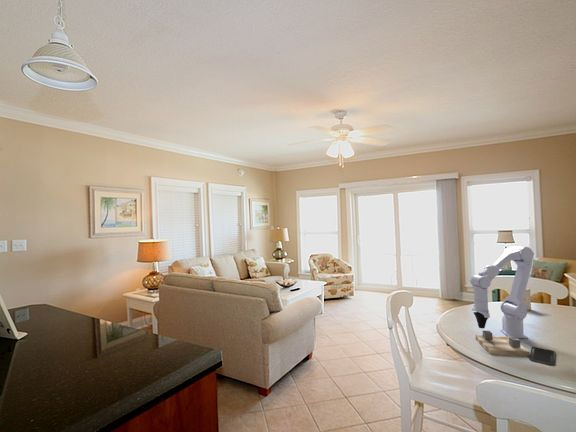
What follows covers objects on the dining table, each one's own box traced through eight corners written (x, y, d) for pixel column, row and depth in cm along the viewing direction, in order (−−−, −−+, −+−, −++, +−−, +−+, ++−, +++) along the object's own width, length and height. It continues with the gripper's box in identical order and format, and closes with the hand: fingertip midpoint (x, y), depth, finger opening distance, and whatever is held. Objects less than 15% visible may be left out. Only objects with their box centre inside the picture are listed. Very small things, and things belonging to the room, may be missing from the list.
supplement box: (531, 309, 188) (530, 288, 188) (527, 310, 186) (527, 289, 186) (516, 306, 195) (515, 285, 195) (512, 307, 193) (511, 287, 193)
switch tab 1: (482, 336, 143) (482, 330, 143) (489, 337, 143) (489, 330, 143) (485, 339, 140) (485, 332, 140) (492, 339, 140) (492, 333, 140)
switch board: (475, 339, 147) (475, 335, 147) (511, 341, 143) (510, 336, 143) (489, 353, 131) (489, 349, 131) (529, 356, 128) (529, 351, 128)
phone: (528, 358, 125) (532, 346, 136) (529, 361, 125) (532, 348, 136) (554, 364, 119) (555, 351, 130) (554, 367, 119) (555, 353, 130)
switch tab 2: (509, 344, 135) (508, 337, 135) (516, 344, 134) (516, 337, 134) (512, 346, 132) (512, 340, 132) (520, 347, 131) (520, 340, 131)
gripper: (466, 295, 156) (467, 322, 156) (477, 303, 142) (478, 332, 142) (481, 296, 154) (482, 323, 154) (494, 304, 140) (495, 333, 140)
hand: (481, 327), depth 148 cm, fingers closed
